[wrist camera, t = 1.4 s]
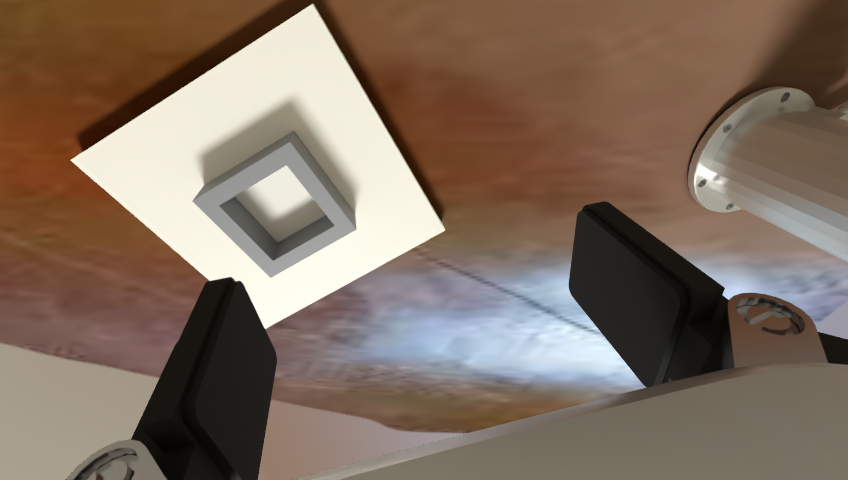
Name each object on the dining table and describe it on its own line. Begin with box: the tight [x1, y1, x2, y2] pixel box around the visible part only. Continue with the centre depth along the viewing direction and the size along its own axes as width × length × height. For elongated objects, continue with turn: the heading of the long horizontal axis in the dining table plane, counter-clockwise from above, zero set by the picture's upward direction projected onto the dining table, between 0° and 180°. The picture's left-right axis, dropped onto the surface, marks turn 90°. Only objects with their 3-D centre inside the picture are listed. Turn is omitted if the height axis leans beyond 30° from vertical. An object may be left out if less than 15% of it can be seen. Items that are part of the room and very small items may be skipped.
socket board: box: [71, 4, 445, 329], centre depth 30 cm, size 20×20×4 cm
